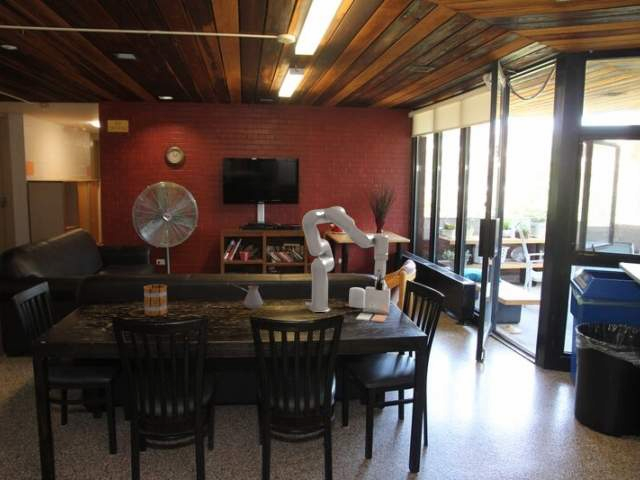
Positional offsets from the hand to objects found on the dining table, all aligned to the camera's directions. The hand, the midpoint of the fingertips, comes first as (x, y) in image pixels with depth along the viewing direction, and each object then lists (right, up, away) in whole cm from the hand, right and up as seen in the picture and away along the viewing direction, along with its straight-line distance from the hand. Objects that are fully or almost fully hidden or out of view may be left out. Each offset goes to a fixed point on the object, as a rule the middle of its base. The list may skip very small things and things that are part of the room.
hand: (380, 288), depth 276 cm
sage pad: (-8, -17, +5) cm, 19 cm away
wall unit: (0, -16, +16) cm, 23 cm away
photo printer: (-11, -14, +27) cm, 33 cm away
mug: (-127, -14, +9) cm, 128 cm away
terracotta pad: (0, -17, +2) cm, 18 cm away
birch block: (0, 0, 0) cm, 1 cm away
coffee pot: (-79, -14, +22) cm, 83 cm away
